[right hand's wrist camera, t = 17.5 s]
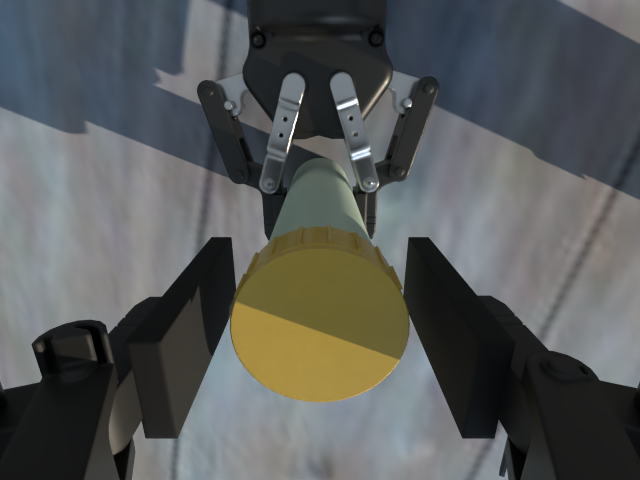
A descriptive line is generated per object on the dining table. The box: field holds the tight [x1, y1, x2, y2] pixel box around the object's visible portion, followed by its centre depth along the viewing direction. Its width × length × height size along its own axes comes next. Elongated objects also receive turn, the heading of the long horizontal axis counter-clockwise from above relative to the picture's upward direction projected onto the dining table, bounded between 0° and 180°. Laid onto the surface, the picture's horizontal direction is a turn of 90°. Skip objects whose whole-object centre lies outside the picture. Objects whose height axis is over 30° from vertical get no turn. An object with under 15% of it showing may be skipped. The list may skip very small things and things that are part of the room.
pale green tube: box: [268, 158, 371, 244], centre depth 20 cm, size 4×4×20 cm
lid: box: [230, 225, 410, 402], centre depth 11 cm, size 5×5×2 cm
